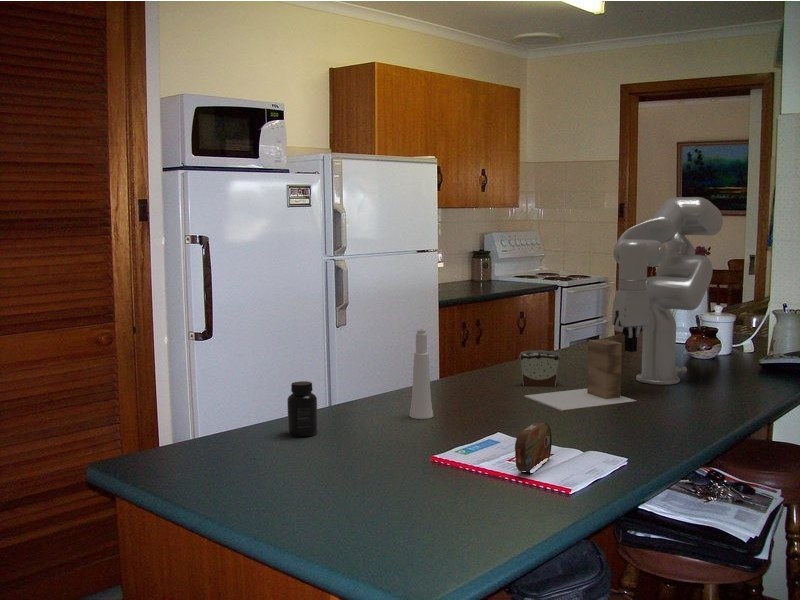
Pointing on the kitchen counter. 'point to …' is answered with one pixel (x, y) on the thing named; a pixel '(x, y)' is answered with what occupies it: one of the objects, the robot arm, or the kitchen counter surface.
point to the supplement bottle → (302, 410)
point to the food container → (539, 368)
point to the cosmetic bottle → (421, 380)
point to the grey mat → (574, 399)
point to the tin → (533, 446)
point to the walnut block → (604, 368)
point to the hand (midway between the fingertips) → (630, 351)
